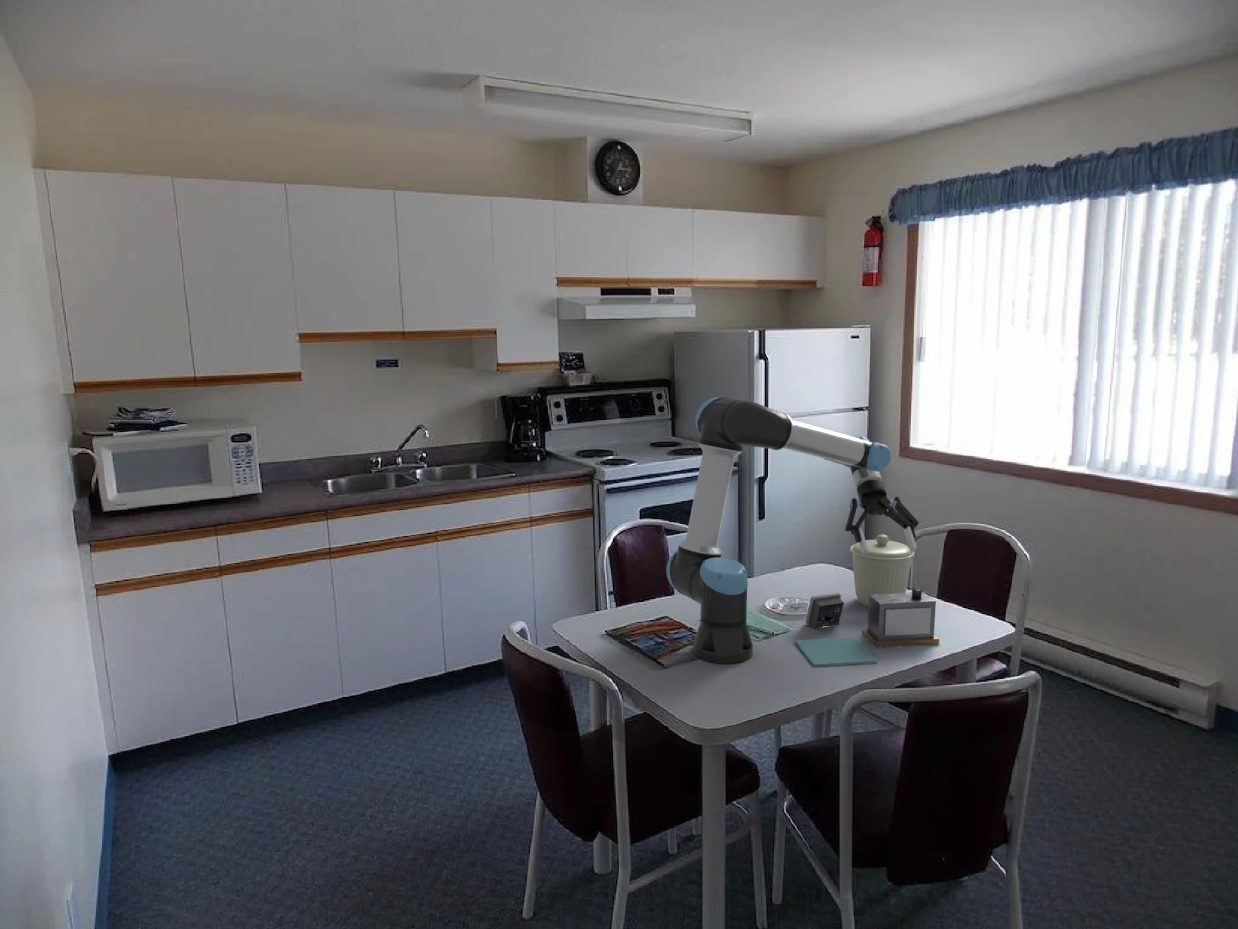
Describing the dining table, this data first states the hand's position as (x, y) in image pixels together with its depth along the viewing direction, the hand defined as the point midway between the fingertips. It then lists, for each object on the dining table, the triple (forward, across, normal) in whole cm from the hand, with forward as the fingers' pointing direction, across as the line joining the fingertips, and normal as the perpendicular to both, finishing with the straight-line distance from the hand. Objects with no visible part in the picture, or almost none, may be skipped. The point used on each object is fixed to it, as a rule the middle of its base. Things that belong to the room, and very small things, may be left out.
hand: (889, 551), depth 216 cm
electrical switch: (+13, +16, -18) cm, 27 cm away
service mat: (+26, +20, -5) cm, 33 cm away
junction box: (+21, 0, -9) cm, 23 cm away
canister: (+2, -6, -28) cm, 29 cm away
